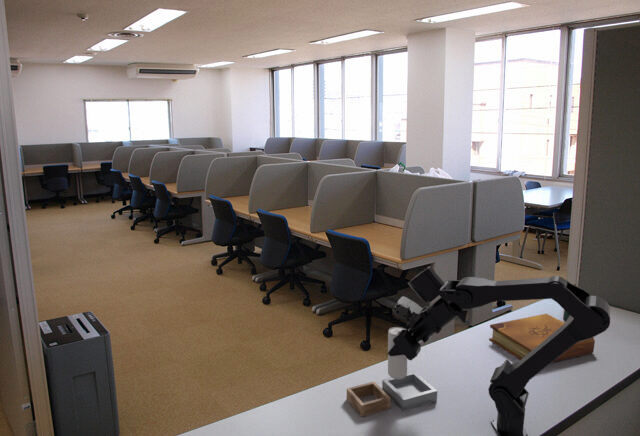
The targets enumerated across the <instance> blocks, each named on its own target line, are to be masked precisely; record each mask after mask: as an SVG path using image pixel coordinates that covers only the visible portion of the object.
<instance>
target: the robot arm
mask: <svg viewBox="0 0 640 436" xmlns="http://www.w3.org/2000/svg"><path fill="white" fill-rule="evenodd" d="M407 284H408V286H409V287H410V289H412V290H413V291H414V292H415V293H416V295H417V296H418V297H419V298H420V299H421V300H422V302H425V303H428V302H429V303H431V302H432V301H434V300H435V299H437V297H439V296H440V297H439V298H438V299H437V300H435V301H434V302H432V303H431V304H430V305H425V306H424V307H422V306H420V305H419V304H418V303H416V302H415V301H413V300H411V299H409V298H408V297H406V296H403V295H402V296H401V297H400V298H399V299H398V301H397V302H396V304H395V306H394V307H393V310H392V313H393V315H395V316H397V317H398V318H400V319H401V320H405V321H406V328H405V329H406V330H401V331H399V332H398V333H397V335H396V336H395V337H394V338H393V342H394V344H395V345H394V346H393V347H392V348H391V349H390V351H389V352H388V351H387V355H388V354H389V355H390V356H398V355H405V356H406V357H407V361H413V360H414V359H415V358H416V357H418V355H419V353H420V352H421V350H422V349H421V347H422V345H421V343H420V342H421V341H422V342H423V343H424V344H425V343H426V342H428V341H429V339H430V338H431V337H432V336H433V335H435V334H439V333H440V332H441V330H442V329H443V328H444V327H446V326H447V325H448V324H449V323H451V322H452V321H454V320H455V319H456V318H458V319H459V320H460V321H461V322H462V323H464V324H465V323H466V322H467V320H468V319H469V317H470V316H469V314H470V313H469V311H470V309H476V308H481V307H484V306H486V305H489V304H492V303H495V302H511V301H512V302H513V301H531V300H533V301H534V300H535V301H536V300H552V301H554V302H555V303H557V304H558V305H559V306H560V307H561V308H562V309H563V311H564V310H565V311H566V312H567V313H568V314H569V315H570V316H569V318H568V319H567V320H565V322H564V324H563V325H562V326H561V327H560V328H559V329H557V330H556V331H555V332H554V333H553V334H551V335H550V336H549V337H548V338H547V339H545V340H544V341H543V342H542V343H541V344H539V345H538V346H537V347H536V348H534V349H533V350H532V351H531V352H530V353H528V354H527V355H526V356H525V357H524V358H522V359H521V360H520V359H519V360H518V361H517V362H514V363H513V362H512V363H511V362H510V360H509V359H505V361H504V362H503V363H502V364H501V365H500V366H498V367H495V368H494V371H493V374H492V376H491V378H490V381H489V382H490V384H489V386H488V396H489V397H490V398H491V400H492V401H493V402H494V405H495V407H496V408H495V409H496V411H497V415H496V416H497V418H496V419H490V423H491V425H492V427H493V428H494V430H495V432H496V433H497V434H498V436H530V435H529V433H528V432H527V430H526V428H525V426H524V425H525V415H526V405H527V401H528V398H529V391H528V390H527V389H526V386H527V384H528V383H529V382H530V380H532V379H533V378H534V377H535V376H537V375H538V374H539V373H541V372H542V371H543V370H544V369H546V368H547V367H548V366H550V365H551V364H552V362H553V361H554V360H556V359H557V358H558V357H560V356H561V355H562V354H563V353H565V352H566V351H567V350H568V349H570V348H571V347H572V346H573V345H575V344H576V343H578V342H580V341H584V340H587V339H591V338H595V337H596V336H599V335H600V334H602V333H604V332H606V331H607V330H608V329H609V328H610V324H611V307H610V304H609V303H608V301H606V299H604V298H603V297H600V296H598V295H592V294H591V293H590V292H588V291H587V290H585V289H584V288H582V287H580V286H577V284H576V285H574V283H571V282H570V281H568V280H567V279H565V277H563V276H560V275H553V276H550V277H548V276H547V277H537V278H522V279H506V280H492V279H491V280H490V279H488V278H484V277H476V276H467V277H463V278H462V279H461V280H460V279H459V280H457V279H455V280H454V279H447V280H446V281H445V282H444V280H443V279H442V278H441V277H440V275H438V273H437V272H436V271H435V270H434V268H433V267H432V266H431V265H429V266H428V267H427V268H425V269H424V270H421V271H420V272H419V273H417V274H416V275H415V277H413V278H412V279H411V280H410V281H409V282H407ZM553 363H554V362H553Z"/></svg>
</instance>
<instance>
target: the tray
mask: <svg viewBox="0 0 640 436" xmlns="http://www.w3.org/2000/svg"><path fill="white" fill-rule="evenodd" d="M381 380H382V381H381V382H382V383H381V385H382V387H381V389H382V390H383V391H384V392H385V393H386V394H387V395H388V396H389V397H390V398H391V401H393V402H394V403H395V405H397V407H399V408H400V409H401V411H403V412H404V411H409V410H411V409H414V408H415V409H416V408H418V407H421V406H425V405H428V404H429V405H430V404H432V403H436V402H437V401H438V390H437V389H436V388H435V387H433V386H432V384H430V383H429V382H428V381H426V380H425V379H424V378H423V377H422V376H421V375H420V374H418V372H416V371H412V372H407V375H406V377H405V378H403V379H394V378H392V377H388V378H384V379H381Z"/></svg>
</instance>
